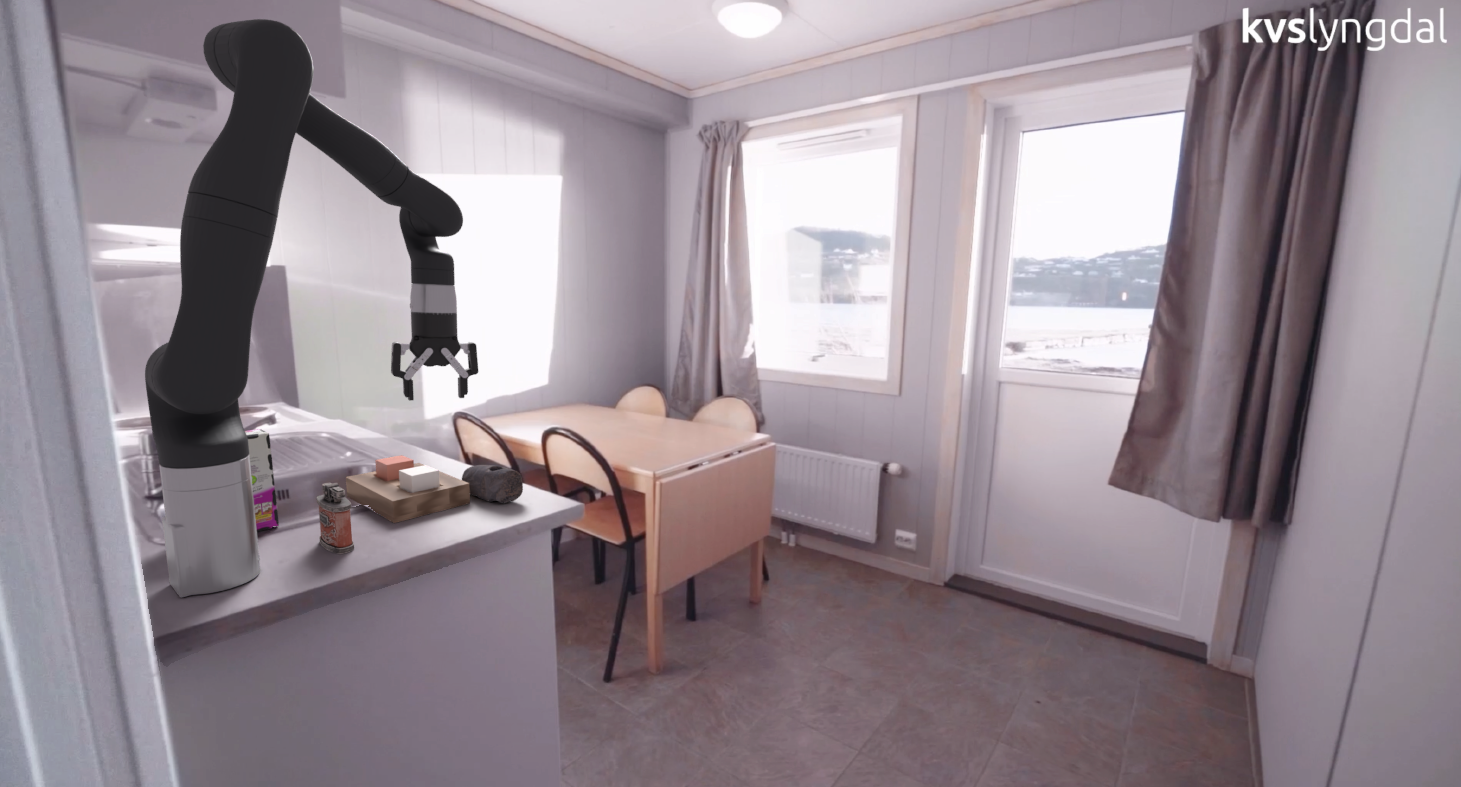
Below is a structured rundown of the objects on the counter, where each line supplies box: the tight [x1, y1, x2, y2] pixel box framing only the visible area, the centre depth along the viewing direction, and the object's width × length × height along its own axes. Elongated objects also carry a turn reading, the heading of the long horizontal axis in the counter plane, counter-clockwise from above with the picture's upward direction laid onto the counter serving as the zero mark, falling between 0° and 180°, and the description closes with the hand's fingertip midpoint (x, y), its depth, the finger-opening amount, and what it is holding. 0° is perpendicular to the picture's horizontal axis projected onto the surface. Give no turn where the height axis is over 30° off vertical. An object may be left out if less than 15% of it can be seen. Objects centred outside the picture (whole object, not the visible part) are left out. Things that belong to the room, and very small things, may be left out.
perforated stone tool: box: [461, 464, 524, 504], centre depth 120 cm, size 15×5×7 cm, turn 59°
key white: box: [399, 464, 440, 493], centre depth 114 cm, size 5×5×4 cm
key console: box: [345, 462, 471, 524], centre depth 118 cm, size 14×20×4 cm
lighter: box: [315, 482, 355, 555], centre depth 96 cm, size 8×3×10 cm, turn 53°
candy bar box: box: [245, 428, 280, 533], centre depth 99 cm, size 11×5×16 cm, turn 143°
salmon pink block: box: [375, 455, 415, 481], centre depth 121 cm, size 5×5×4 cm
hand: (436, 398), depth 113 cm, fingers open, 8 cm apart
